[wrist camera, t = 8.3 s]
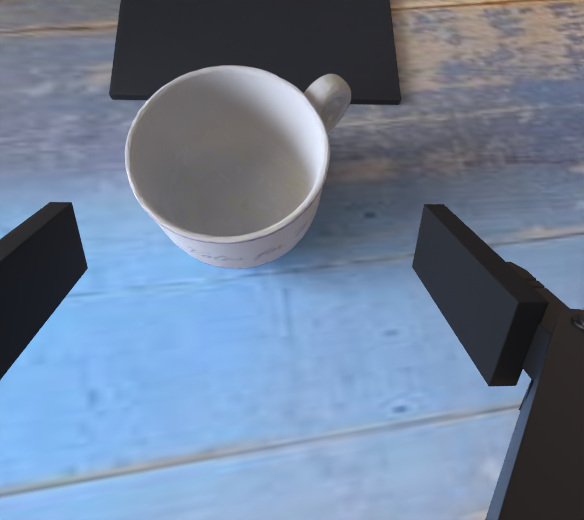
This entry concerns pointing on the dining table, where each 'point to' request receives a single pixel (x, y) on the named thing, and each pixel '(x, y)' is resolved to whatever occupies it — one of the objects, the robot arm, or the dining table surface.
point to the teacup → (234, 160)
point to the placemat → (257, 43)
